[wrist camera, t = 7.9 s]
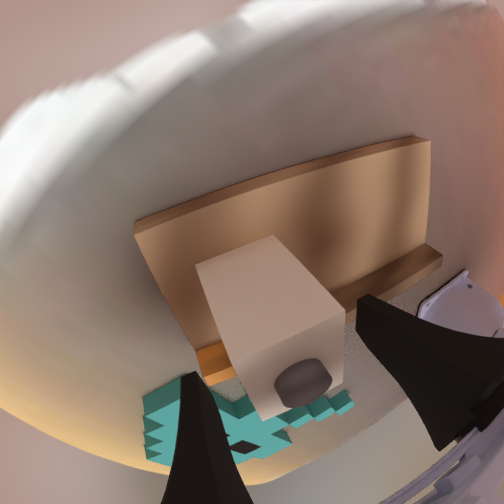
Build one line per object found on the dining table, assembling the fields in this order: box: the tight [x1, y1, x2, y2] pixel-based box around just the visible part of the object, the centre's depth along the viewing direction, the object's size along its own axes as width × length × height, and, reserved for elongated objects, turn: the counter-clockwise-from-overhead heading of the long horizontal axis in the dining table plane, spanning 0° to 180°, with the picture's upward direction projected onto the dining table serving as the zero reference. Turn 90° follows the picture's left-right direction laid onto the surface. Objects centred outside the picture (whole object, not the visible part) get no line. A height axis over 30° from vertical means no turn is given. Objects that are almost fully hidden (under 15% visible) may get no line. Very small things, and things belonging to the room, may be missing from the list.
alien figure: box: [143, 374, 355, 466], centre depth 24 cm, size 20×2×20 cm
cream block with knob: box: [195, 235, 345, 421], centre depth 12 cm, size 4×5×7 cm
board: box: [134, 136, 443, 386], centre depth 15 cm, size 18×9×4 cm, turn 103°
